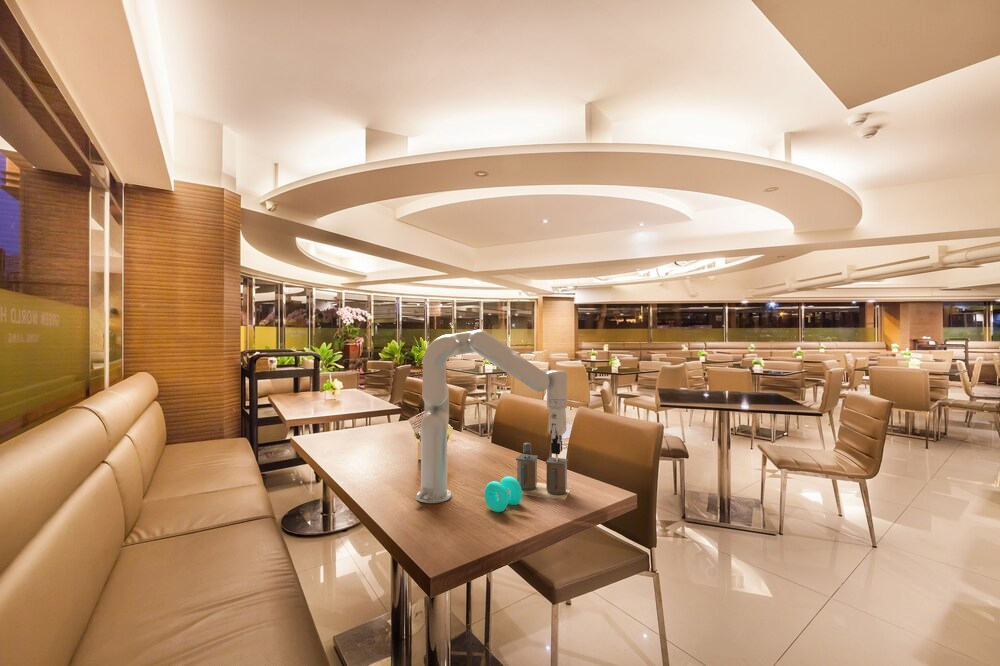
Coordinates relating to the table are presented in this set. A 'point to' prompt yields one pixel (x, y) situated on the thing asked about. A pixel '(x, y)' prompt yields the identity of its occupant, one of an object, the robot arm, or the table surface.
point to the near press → (556, 476)
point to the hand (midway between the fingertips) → (556, 451)
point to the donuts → (503, 493)
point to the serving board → (545, 492)
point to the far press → (527, 469)
